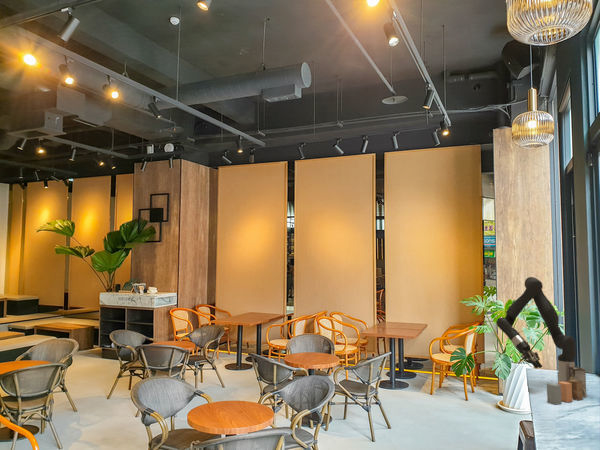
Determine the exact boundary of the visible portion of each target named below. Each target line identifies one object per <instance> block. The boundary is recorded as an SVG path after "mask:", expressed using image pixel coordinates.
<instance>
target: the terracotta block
mask: <svg viewBox="0 0 600 450" xmlns="http://www.w3.org/2000/svg"><path fill="white" fill-rule="evenodd" d="M557 384H558V385H561V402H565V403H570V402H573V399H572V383H568V382H564V381H562V382H558V381H557Z"/></svg>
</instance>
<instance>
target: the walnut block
mask: <svg viewBox="0 0 600 450" xmlns="http://www.w3.org/2000/svg"><path fill="white" fill-rule="evenodd" d="M568 383H572V400H576V401H580V400H584V397H583V391H582V381H577V380H568Z"/></svg>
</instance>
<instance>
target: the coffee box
mask: <svg viewBox="0 0 600 450" xmlns="http://www.w3.org/2000/svg"><path fill="white" fill-rule="evenodd" d="M586 377H587V375H586V369H584V368H582V367H581V366H575V367H569V379H570V380H577V381H582V391H583V399H584V398H585V399H587V396H588V395H587V378H586Z"/></svg>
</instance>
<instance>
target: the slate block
mask: <svg viewBox="0 0 600 450" xmlns="http://www.w3.org/2000/svg"><path fill="white" fill-rule="evenodd" d="M546 398H547V403H549V404H552V405H559V404H562V402H563V401H561V385H558V383H554V382H552V383H551V382H550V383H546Z"/></svg>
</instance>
